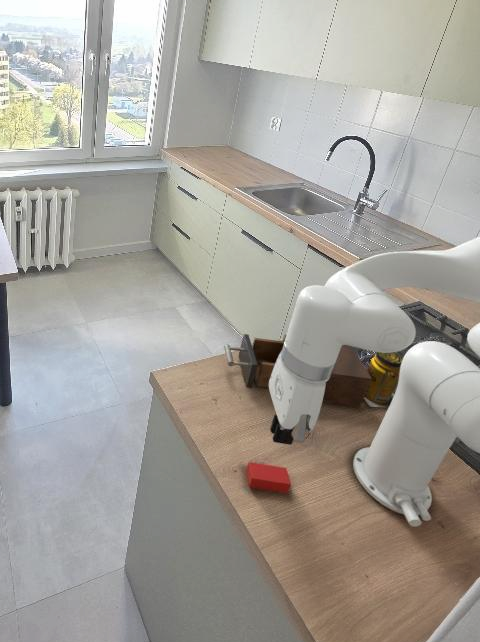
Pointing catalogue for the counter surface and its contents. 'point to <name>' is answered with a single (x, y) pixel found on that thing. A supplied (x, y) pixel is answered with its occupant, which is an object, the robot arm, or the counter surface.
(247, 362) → the drawer
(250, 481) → the red rectangular block
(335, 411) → the counter surface
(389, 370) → the condiment
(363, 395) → the cabinet
